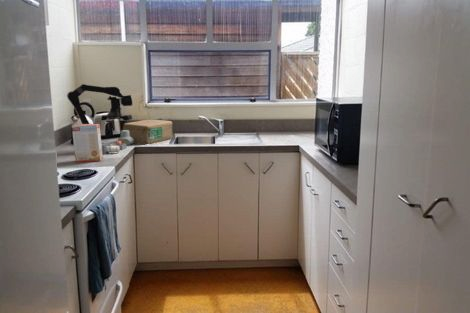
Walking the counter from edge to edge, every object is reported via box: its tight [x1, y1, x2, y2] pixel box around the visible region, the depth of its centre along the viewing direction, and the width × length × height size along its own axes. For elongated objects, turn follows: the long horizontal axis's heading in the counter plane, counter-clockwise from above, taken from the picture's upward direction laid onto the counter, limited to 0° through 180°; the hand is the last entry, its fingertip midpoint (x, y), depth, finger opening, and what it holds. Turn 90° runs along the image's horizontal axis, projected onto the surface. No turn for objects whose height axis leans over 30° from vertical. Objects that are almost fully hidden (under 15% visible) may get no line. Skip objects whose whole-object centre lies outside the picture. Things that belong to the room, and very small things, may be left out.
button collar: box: [111, 143, 127, 151], centre depth 271 cm, size 7×7×3 cm
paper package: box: [123, 118, 173, 145], centre depth 301 cm, size 27×26×14 cm
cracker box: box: [71, 123, 104, 163], centre depth 236 cm, size 14×6×21 cm, turn 92°
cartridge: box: [106, 145, 121, 153], centre depth 259 cm, size 12×4×4 cm, turn 81°
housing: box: [101, 142, 111, 155], centre depth 259 cm, size 6×8×6 cm
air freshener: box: [116, 129, 134, 147], centre depth 285 cm, size 11×8×10 cm
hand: (117, 130), depth 269 cm, fingers open, 5 cm apart
